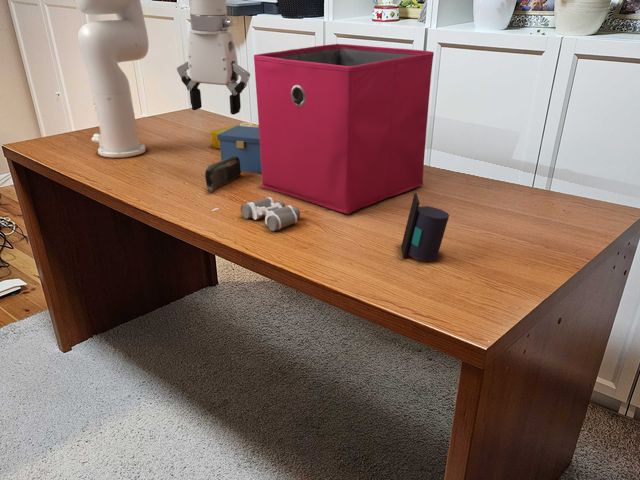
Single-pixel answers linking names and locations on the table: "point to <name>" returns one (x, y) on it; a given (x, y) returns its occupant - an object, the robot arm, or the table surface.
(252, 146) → the blue box
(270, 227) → the binoculars
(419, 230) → the speaker
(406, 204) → the table surface
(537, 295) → the table surface
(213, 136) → the element tile
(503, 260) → the table surface
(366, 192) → the storage bin
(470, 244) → the table surface
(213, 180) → the mobile phone
